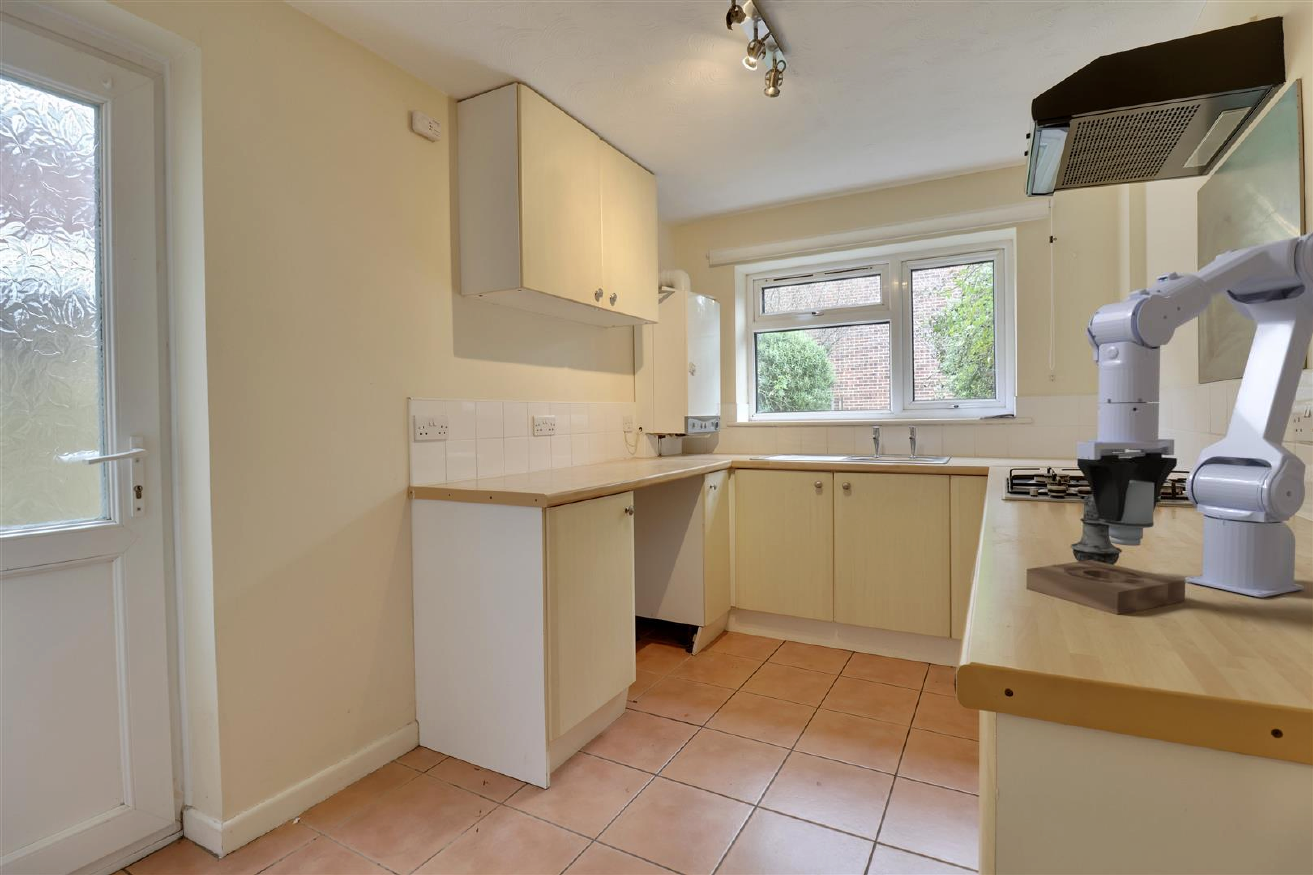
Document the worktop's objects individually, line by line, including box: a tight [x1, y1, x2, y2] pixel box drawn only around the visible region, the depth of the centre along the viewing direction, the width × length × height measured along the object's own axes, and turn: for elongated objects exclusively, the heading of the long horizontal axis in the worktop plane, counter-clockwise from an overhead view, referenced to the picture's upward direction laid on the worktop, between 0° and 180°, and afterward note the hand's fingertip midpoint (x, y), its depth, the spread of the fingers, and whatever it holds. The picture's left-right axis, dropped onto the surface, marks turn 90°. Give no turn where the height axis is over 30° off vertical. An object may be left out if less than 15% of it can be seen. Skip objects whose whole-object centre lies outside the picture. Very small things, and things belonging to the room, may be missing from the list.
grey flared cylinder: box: [1069, 493, 1123, 565], centre depth 85 cm, size 6×6×12 cm
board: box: [1026, 560, 1186, 615], centre depth 76 cm, size 12×11×2 cm
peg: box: [1099, 480, 1155, 547], centre depth 73 cm, size 5×5×7 cm
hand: (1125, 518), depth 73 cm, fingers closed on peg, 5 cm apart
